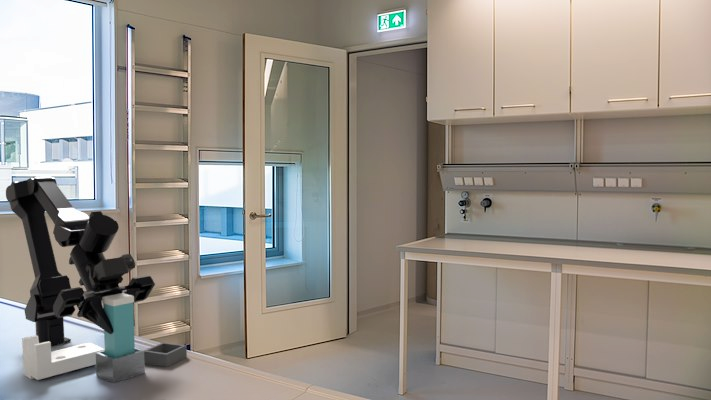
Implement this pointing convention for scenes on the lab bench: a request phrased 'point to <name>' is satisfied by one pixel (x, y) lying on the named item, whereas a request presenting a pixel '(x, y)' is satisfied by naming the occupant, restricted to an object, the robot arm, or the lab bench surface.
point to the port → (120, 366)
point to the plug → (119, 325)
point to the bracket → (55, 358)
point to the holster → (165, 354)
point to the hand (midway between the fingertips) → (122, 330)
